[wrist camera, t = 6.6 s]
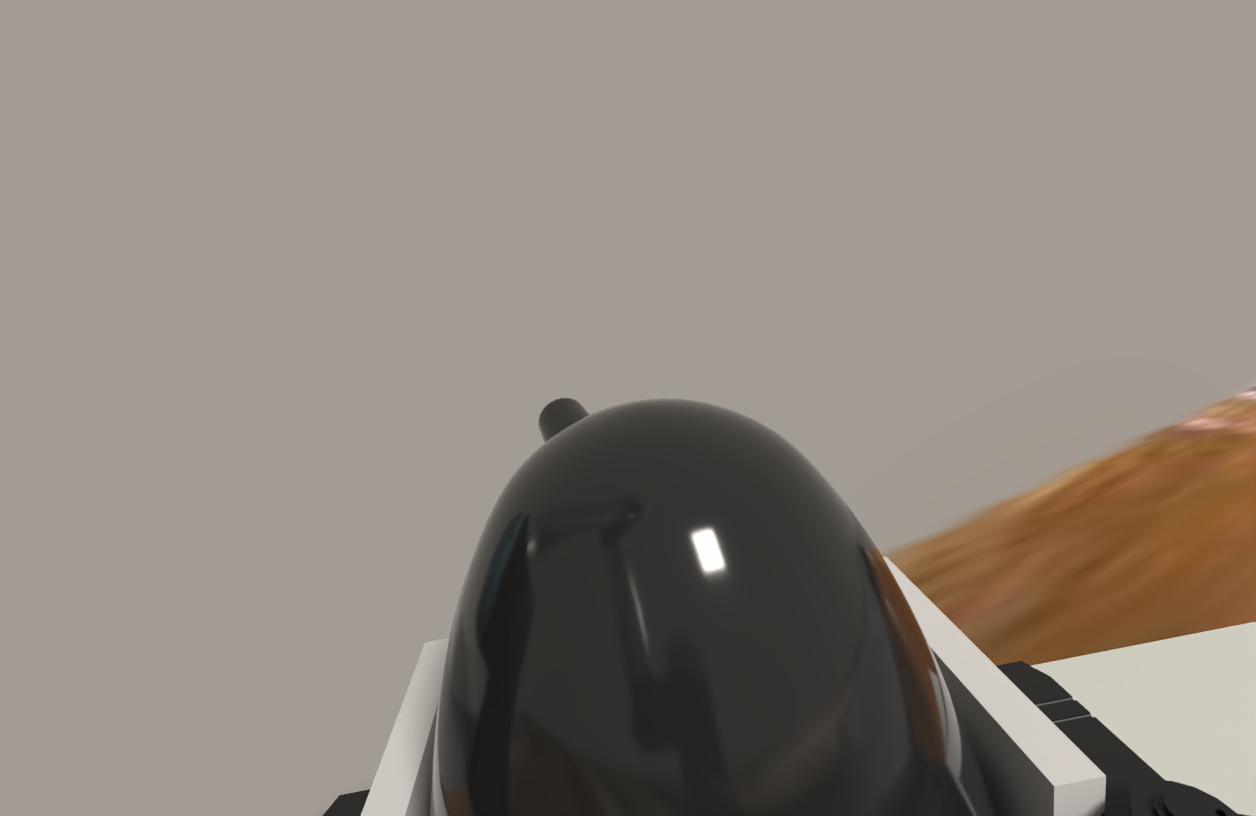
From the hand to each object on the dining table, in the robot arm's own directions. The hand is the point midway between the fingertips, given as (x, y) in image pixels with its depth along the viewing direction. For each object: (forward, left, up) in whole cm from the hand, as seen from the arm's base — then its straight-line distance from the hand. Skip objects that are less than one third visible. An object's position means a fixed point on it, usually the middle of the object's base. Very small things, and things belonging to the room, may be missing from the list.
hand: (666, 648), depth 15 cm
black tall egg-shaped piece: (0, -4, -8) cm, 9 cm away
